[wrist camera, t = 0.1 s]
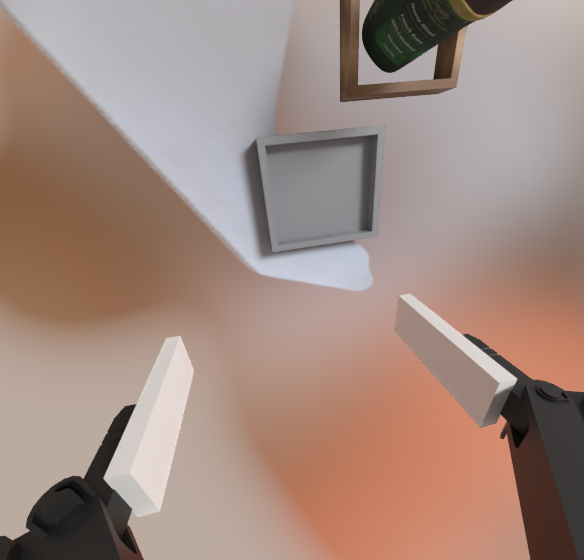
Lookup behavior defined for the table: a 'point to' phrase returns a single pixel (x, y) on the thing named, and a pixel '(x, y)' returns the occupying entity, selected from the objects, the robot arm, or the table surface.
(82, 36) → the table surface
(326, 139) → the slate tray
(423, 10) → the coffee jar
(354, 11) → the walnut frame
